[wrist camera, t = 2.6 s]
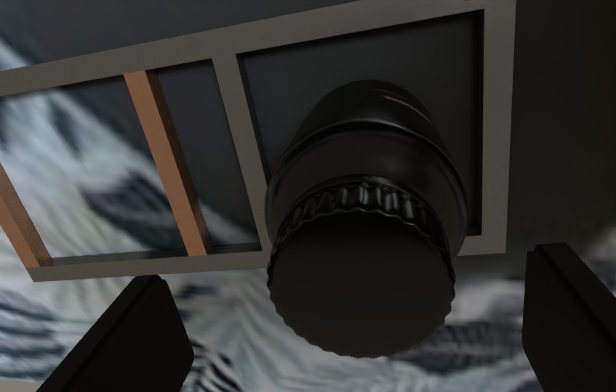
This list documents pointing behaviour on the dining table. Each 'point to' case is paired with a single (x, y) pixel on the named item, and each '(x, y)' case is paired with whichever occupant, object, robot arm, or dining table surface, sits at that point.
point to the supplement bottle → (365, 224)
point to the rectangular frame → (246, 134)
